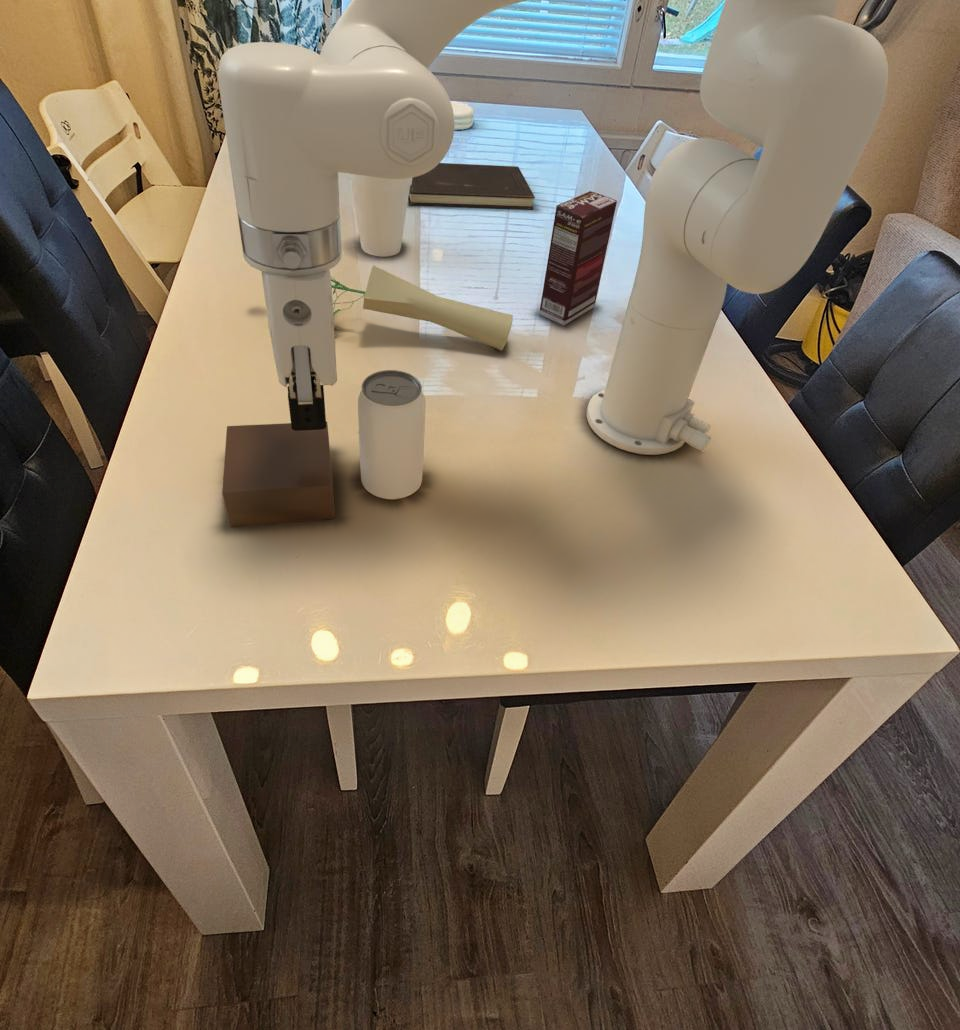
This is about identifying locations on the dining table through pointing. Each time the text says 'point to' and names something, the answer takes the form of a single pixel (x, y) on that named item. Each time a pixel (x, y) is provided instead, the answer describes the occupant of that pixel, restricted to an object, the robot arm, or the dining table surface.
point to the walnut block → (277, 475)
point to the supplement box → (576, 256)
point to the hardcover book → (472, 187)
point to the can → (391, 434)
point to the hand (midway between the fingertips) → (308, 424)
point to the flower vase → (431, 308)
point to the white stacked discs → (462, 115)
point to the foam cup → (380, 212)
